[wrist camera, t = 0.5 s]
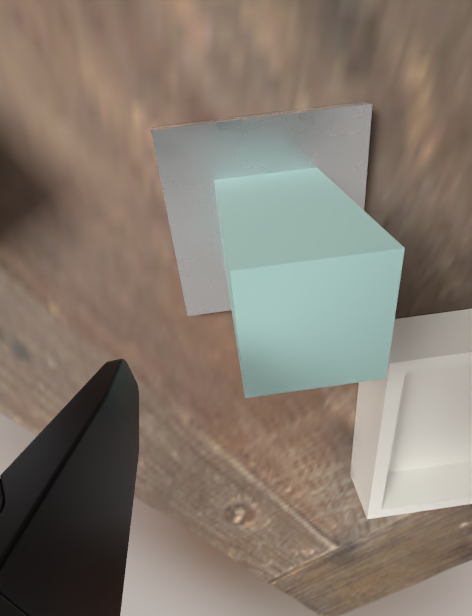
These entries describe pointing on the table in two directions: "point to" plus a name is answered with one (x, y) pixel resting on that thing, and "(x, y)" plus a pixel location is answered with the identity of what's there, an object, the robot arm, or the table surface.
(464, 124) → the table surface
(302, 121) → the stud plate
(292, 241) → the block
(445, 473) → the bin
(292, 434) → the table surface
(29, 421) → the table surface
